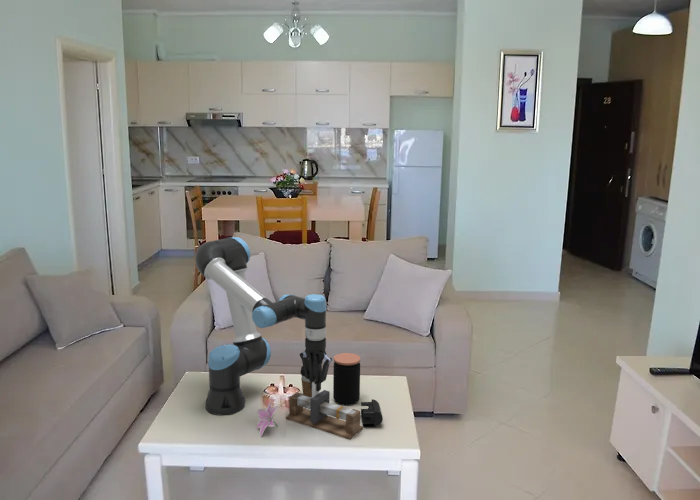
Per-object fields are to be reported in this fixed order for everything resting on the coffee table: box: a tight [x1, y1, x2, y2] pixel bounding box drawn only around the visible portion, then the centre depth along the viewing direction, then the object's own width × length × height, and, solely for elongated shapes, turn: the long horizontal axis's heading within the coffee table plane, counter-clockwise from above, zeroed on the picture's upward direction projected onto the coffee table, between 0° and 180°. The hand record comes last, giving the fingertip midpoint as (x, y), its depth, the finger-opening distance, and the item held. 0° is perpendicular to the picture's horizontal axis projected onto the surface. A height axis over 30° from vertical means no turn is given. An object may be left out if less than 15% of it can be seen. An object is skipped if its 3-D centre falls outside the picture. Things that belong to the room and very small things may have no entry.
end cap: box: [360, 399, 384, 429], centre depth 224 cm, size 10×7×7 cm
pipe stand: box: [285, 391, 364, 441], centre depth 222 cm, size 28×9×8 cm, turn 59°
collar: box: [309, 389, 331, 424], centre depth 222 cm, size 2×9×9 cm, turn 149°
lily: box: [255, 401, 279, 438], centre depth 217 cm, size 12×12×10 cm
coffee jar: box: [332, 352, 361, 406], centre depth 240 cm, size 11×11×18 cm
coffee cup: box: [299, 365, 312, 398], centre depth 238 cm, size 8×8×15 cm
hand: (315, 397), depth 222 cm, fingers closed
